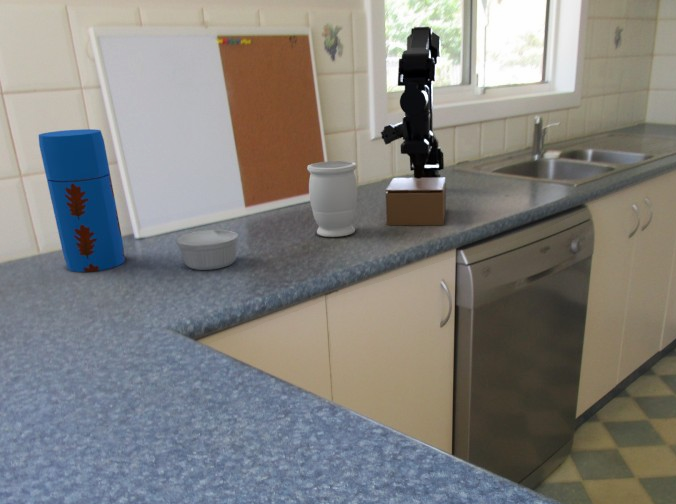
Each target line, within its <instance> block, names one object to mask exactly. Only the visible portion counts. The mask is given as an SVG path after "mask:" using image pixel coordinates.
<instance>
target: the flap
mask: <svg viewBox="0 0 676 504" xmlns="http://www.w3.org/2000/svg"><path fill="white" fill-rule="evenodd" d="M445 180H447V179H446V177H444V176H443V177H442V176H440V178H420V179H417V178H414V177H392V179H391V181H390V183H389V184H425V183H445Z"/></svg>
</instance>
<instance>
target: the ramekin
mask: <svg viewBox="0 0 676 504" xmlns="http://www.w3.org/2000/svg"><path fill="white" fill-rule="evenodd" d="M238 242H239V235H238V233H237V232H234V231H231V230H227V229H206V230H198V231H193V232H189V233H186V234H183V235H181V236H179V237H178V238H177V239H176V245H177V247H178V248H179V252H180V254H181V257H182V260H183V263H184V264H185V266H187V267H188V268H189V269H191V270H196V271H212V270H219V269H222V268H223V269H224V268H226V267H229V266H231V265H232V264H234V262H235V261H236V260H237V253H238Z"/></svg>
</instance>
